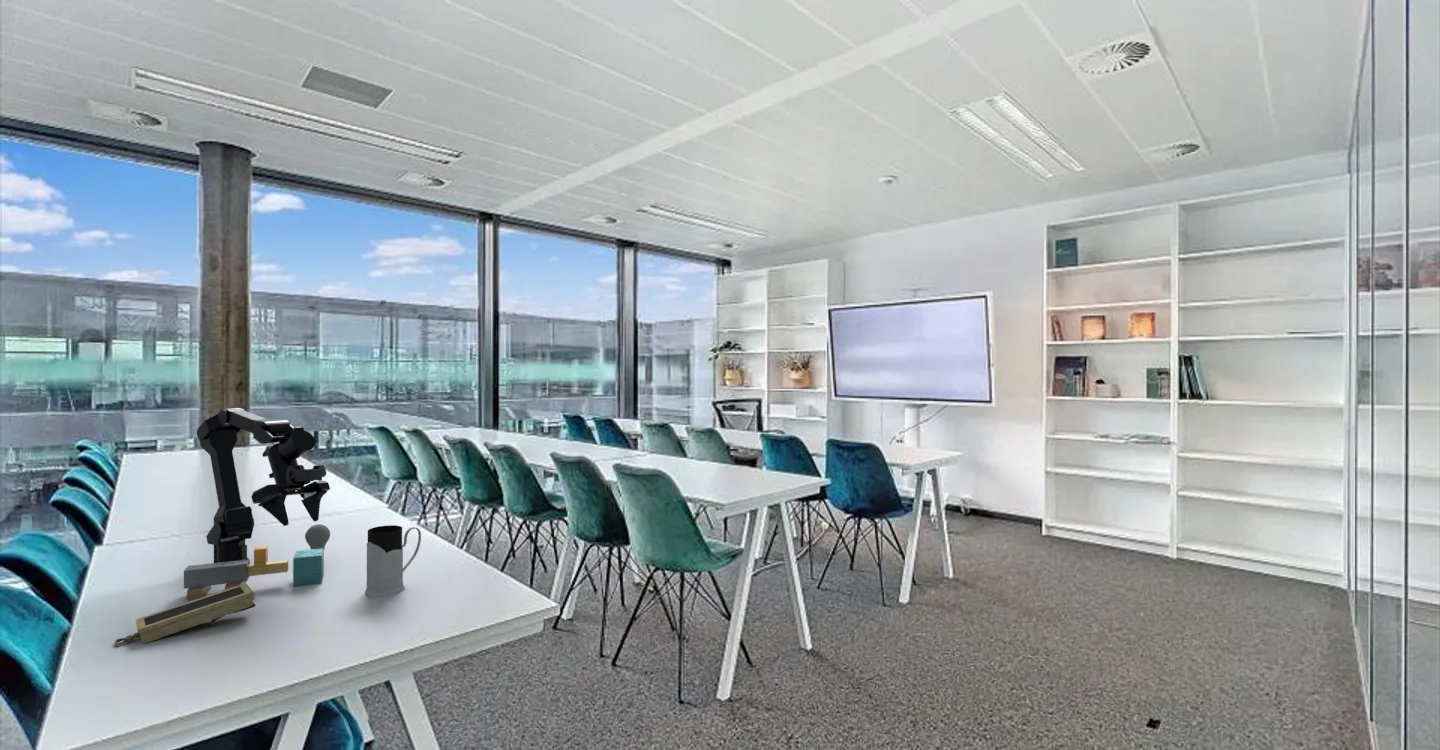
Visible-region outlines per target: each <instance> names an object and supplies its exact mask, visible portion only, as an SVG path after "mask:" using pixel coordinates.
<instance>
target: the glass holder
mask: <svg viewBox="0 0 1440 750" xmlns="http://www.w3.org/2000/svg"><path fill="white" fill-rule="evenodd" d="M412 530H417V533H418V538H417V540H418V541H417V544H416V548H415V550H414V553H413V554H412V556H411V558H410V559H409V561H407V563H406V564H405V565H403V564H404V547H406V545H407V541H408V534H409V533H410V532H411V531H412ZM421 534H422V533H421V530H420V529H419V528H418V527H414V526H413V527H410V528H408V529H407V530H406V532H405V534H404V537H403V527H402V526H401V525H396V524H395V525H393V524H392V525H390V524H389V525H381V526H375V527H371V528H369V529H368V530H367V543H366V586H365V587H366V589H365V590H364V595H365V596H366V597H367V596H368V597H372V598H373V597H375V598H377V597H378V598H381V597H387V596H393V595H396V594H400V593H401V592H404V590H405V589H406V588H405V587H406V586H405V585H404V572H405V571H406V570H407V568H408V567H409V565H410V564H411V563H412V562H413V560H415V558H416V556H417V554H418V552H419V549H420V546H421V542H422V535H421Z"/></svg>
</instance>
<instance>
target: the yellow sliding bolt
mask: <svg viewBox="0 0 1440 750" xmlns="http://www.w3.org/2000/svg"><path fill="white" fill-rule="evenodd" d="M268 548H269V546H268V545H260V546H255V548H253V563H250V564H248V565H247V577H248V576H250V577H255V576H264V575H272V574H279V573H280V574H281V573H287V572H288V570H289V559H282V560H273V561H269V559H268V557H269V551H268V550H269V549H268Z"/></svg>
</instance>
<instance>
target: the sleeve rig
mask: <svg viewBox="0 0 1440 750" xmlns="http://www.w3.org/2000/svg"><path fill="white" fill-rule="evenodd" d="M324 552H325V549H324V548H321V549H311V548H310V549H304V550H296V551H295V553H294V555H293V557H292V565H293V566H292V568H293V569H292V587H293V588H296V587H303V586H306V587H307V586H311V585H312V586H314V585H322V583H323V579H324V575H325V573H324V572H325V564H324V563H325V561H324V560H325V553H324ZM248 564H251V559H250V558H249V559H248V560H239V561H229V562H220V563H214V562H212V563H210V562H209V563H203V564H201V563H200V564H193V565H192V564H191V565H188V566H187V567H186V568H185V569H184V570H183V590H186V589H187V590H186V594H187V595H186V601H187V602H190V601H193V600H196V599H199V598H202V597H205V596H208V593H210V591H211V589H212V586H218V585H224V590H227V589H230V588H233V587H236V586H239V585H242V584H247V582H248V580H249V578H250V577H251V576H248V577H247V565H248Z"/></svg>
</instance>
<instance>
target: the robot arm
mask: <svg viewBox="0 0 1440 750" xmlns="http://www.w3.org/2000/svg"><path fill="white" fill-rule="evenodd" d="M241 431H246V432H248V433H251V434H252V438H253V439H254V440H255V441H257V442H258V443H260V444H263V445H265V444H273V445H269V446H268V445H267V446H266V447H265V450H264V451H263V452H262V457H263V458H265V457H267V459H268V463H269V466H270V468H271V473H269V474H268V476H269V479H274V482H275V484H267V485H264V486H262V487H261V488H258V489H256V490H255V491H252V494H251V501H252V503H253V504H254V505H256V504H258V505H257V506H258V507H261V508H263V509H264V510H265V511H267V512H268V513H269V514H270V515H272V517H274V518H275V519H276V520H277V521H278V522H279V523H280V524H281V525H282V526H284V527H286V526H288V525H289V524H290V523H289V518H288V513H287V508H286V505H285V504H286V503H285V502H286V498H287V496H294V495H296V496H297V495H299V496H300V497H301V498H302V499H301V500H300V501H301V502H302V504H303V506H304V509H305V510H306V512H307V513H308V514H309V516H310V519H312V521H313V522H314V523H315V522H317V521H319V519H320V518H319V517H320V507H321V501H322V498H323V497H324V495H326V494H327V493H328V491H330V490H331V486H330V485H329V482H328V481H326V480H323V478H325V477H326V476H327V470H326V467H325V464H317V465H316V464H315V465H313V466H312V468H307V469H305V466H304V465H303V464H298V460H297V459H299V458H301V457H302V456H303V455H305V454H307V453H308V452H310V451H311V450H313V449H314V447H315V446H316V438H315V437H314V435H313V434H312V433H310V432H309V431H307V430H304V426H295V427H294V425H292V424H291V422H290V421H289V420H287V419H278V418H277V419H275V418H272V419H270V418H269V419H268V418H265V417H262V416H259V415H257V414H254V413H252V412H249V411H247V410H245V409H244V408H241V407H234V408H233V407H232V408H224V409H221V410H219V412H218V413H217V414H215V415H213V416H211V417H209V418H207V419H204V421H203V422H202V423H201V424H200V426H199V427H197V430H196V437H197V438H198V440H199V443H200V447H201V448H202V449H203V450H204V451H205V452H206V453H207V454H208V456H210V461H211V468H212V473H213V479H214V484H215V491H216V497H217V503H218V508H217V510H216V512H215V515H214V516H213V526H212V527H211V528H210V530H209V531H208V533H207V534H206V542H207V544H208V545H212V546H213V563H220V562H229V561H239V560H248V559H250V558H249V557H248V545H247V544H246V540H249V539H251V538H252V535H253V533H254V527H255V519H254V517H253V516H254V515H253V509H252V507H251V505H247V506H246V504H244V503H243V502H242V499H241V494H240V488H239V483H238V482H239V481H238V476H237V471H236V465H235V459H234V452H233V450H234V448H235V446H236V444H237V443H238V435H239V433H241ZM274 443H275V444H274Z"/></svg>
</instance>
